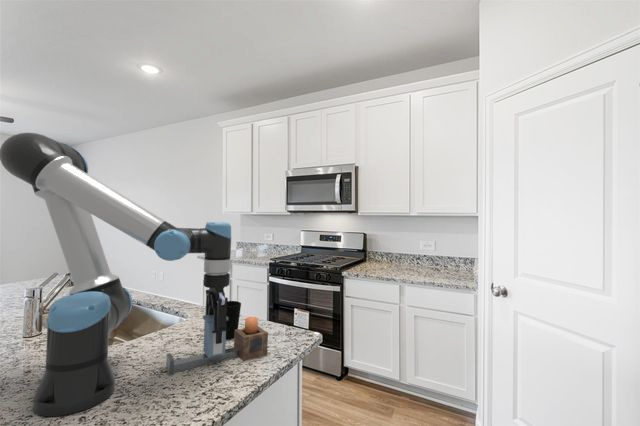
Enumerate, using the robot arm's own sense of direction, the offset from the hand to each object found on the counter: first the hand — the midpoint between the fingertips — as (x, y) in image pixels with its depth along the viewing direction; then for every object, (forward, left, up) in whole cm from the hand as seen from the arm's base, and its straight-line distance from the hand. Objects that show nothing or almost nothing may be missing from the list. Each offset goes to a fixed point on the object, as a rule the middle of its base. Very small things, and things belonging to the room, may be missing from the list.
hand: (214, 349), depth 94 cm
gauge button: (+11, -1, +4) cm, 12 cm away
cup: (+10, +16, -3) cm, 19 cm away
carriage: (0, 0, -1) cm, 1 cm away
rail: (-2, 0, -3) cm, 4 cm away
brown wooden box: (+11, -1, -3) cm, 12 cm away
